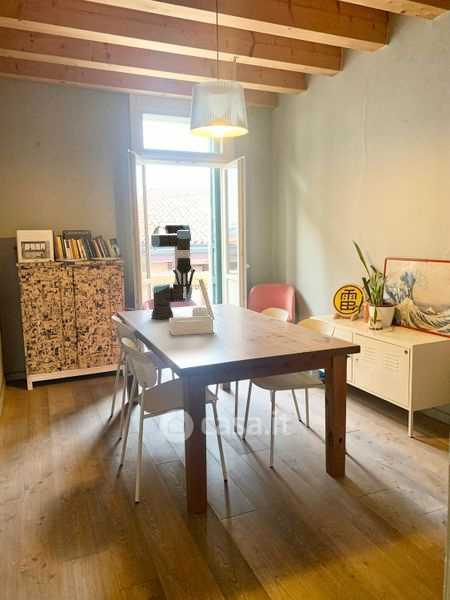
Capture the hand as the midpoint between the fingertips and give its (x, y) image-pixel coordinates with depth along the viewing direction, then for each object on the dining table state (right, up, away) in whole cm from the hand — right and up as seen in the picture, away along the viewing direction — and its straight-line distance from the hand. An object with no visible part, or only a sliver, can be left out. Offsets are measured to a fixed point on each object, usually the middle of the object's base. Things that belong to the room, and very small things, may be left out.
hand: (184, 298), depth 258 cm
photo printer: (+8, -18, +21) cm, 28 cm away
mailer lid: (+11, 0, +3) cm, 11 cm away
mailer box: (+3, -20, +4) cm, 21 cm away
